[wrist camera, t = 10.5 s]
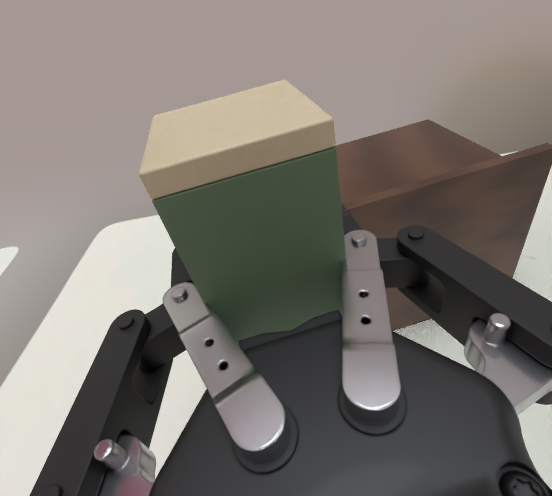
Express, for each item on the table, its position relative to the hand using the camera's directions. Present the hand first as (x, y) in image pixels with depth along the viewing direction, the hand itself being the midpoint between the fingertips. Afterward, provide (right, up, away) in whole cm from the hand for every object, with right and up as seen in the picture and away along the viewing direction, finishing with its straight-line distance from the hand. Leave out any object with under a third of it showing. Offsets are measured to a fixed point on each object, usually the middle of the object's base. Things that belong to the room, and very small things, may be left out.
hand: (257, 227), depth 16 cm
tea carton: (+2, -7, +2) cm, 7 cm away
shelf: (+12, -3, +19) cm, 23 cm away
